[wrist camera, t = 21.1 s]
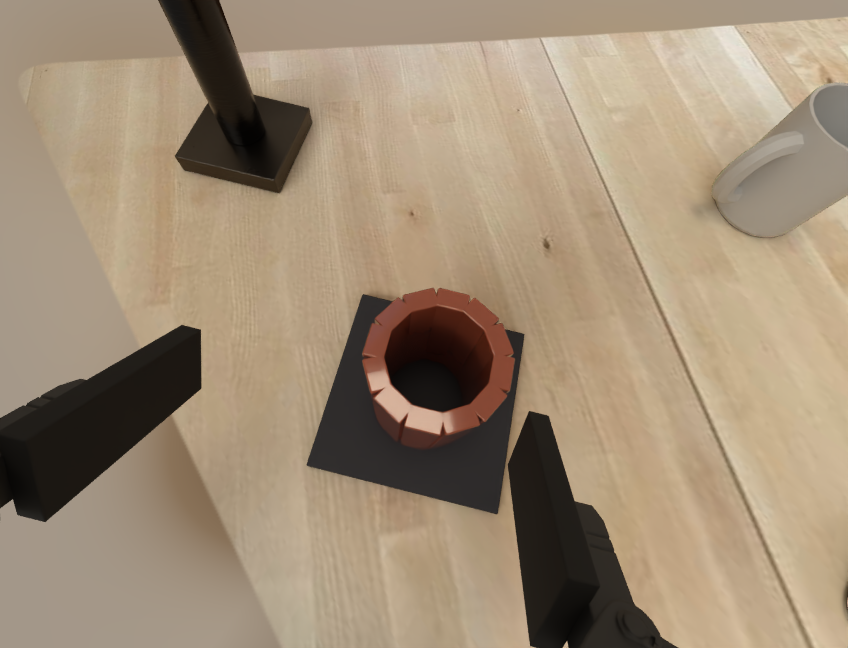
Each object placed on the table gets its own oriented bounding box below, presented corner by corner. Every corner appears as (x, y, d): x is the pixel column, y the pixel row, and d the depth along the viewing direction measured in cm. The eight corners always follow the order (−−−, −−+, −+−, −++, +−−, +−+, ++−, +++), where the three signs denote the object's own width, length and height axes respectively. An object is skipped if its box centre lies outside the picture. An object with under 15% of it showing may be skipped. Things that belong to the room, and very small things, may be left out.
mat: (307, 465, 25) (306, 465, 24) (363, 296, 29) (362, 293, 29) (495, 513, 24) (497, 514, 24) (522, 336, 29) (524, 333, 28)
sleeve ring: (360, 434, 25) (344, 411, 17) (388, 336, 28) (386, 274, 19) (464, 460, 25) (501, 451, 17) (483, 359, 28) (523, 307, 19)
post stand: (183, 170, 32) (57, -17, 20) (224, 101, 35) (136, -98, 23) (279, 193, 32) (210, 19, 20) (312, 122, 35) (270, -67, 23)
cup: (806, 236, 34) (939, 159, 26) (701, 246, 33) (805, 168, 25) (769, 170, 37) (878, 80, 29) (670, 177, 36) (755, 85, 27)
